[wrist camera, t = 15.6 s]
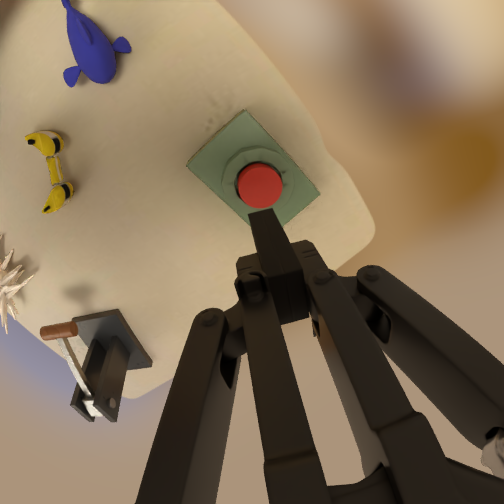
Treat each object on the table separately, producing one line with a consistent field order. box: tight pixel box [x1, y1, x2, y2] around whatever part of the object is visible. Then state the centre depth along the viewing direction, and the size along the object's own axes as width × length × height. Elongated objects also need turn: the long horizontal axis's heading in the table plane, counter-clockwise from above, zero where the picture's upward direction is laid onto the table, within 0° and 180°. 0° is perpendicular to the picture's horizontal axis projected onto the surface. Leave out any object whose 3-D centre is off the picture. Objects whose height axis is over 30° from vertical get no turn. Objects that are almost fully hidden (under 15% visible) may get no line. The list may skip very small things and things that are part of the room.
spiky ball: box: [0, 235, 35, 334], centre depth 29 cm, size 11×12×8 cm
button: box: [238, 163, 282, 208], centre depth 27 cm, size 4×4×2 cm
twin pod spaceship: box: [25, 131, 74, 213], centre depth 26 cm, size 10×6×4 cm, turn 3°
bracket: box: [70, 309, 152, 422], centre depth 35 cm, size 12×9×14 cm
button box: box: [186, 109, 320, 227], centre depth 29 cm, size 12×8×4 cm, turn 42°
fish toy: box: [61, 0, 131, 88], centre depth 17 cm, size 15×8×7 cm, turn 26°
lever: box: [40, 321, 103, 416], centre depth 29 cm, size 13×6×2 cm, turn 12°
